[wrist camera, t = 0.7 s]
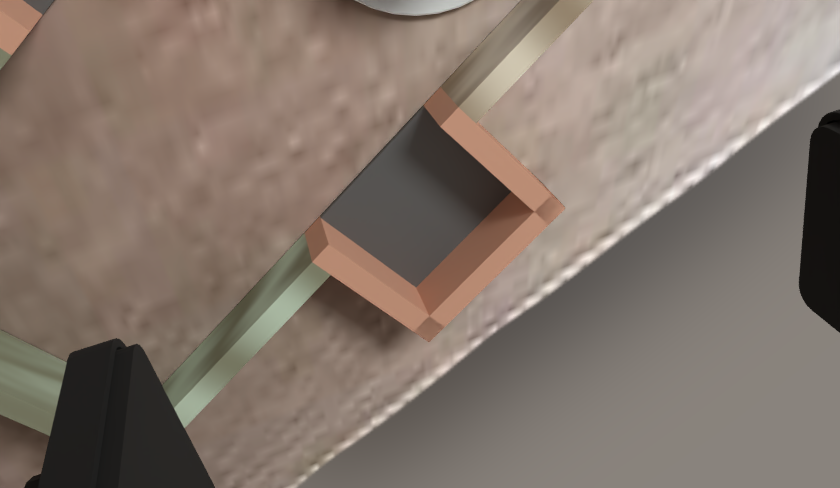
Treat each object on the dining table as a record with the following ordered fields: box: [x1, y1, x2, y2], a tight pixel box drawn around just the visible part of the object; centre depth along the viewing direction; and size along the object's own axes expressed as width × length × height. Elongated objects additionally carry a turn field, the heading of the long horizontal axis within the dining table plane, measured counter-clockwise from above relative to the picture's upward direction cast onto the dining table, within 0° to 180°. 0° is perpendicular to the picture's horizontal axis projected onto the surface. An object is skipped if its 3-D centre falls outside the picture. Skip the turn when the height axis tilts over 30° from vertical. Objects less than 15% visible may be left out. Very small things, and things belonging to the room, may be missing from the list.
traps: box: [0, 0, 565, 342], centre depth 33 cm, size 10×31×3 cm, turn 45°
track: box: [0, 0, 593, 436], centre depth 32 cm, size 37×17×4 cm, turn 135°
